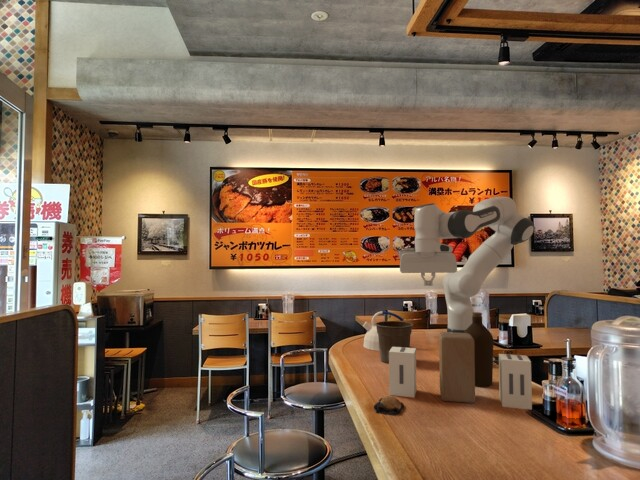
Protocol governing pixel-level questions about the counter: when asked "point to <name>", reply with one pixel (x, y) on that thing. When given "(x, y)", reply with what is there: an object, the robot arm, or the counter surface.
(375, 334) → the kettle
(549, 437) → the counter surface
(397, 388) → the marked block one
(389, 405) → the bread roll
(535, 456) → the counter surface
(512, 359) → the marked block two
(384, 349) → the plant pot
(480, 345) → the olive oil
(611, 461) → the counter surface
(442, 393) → the block
